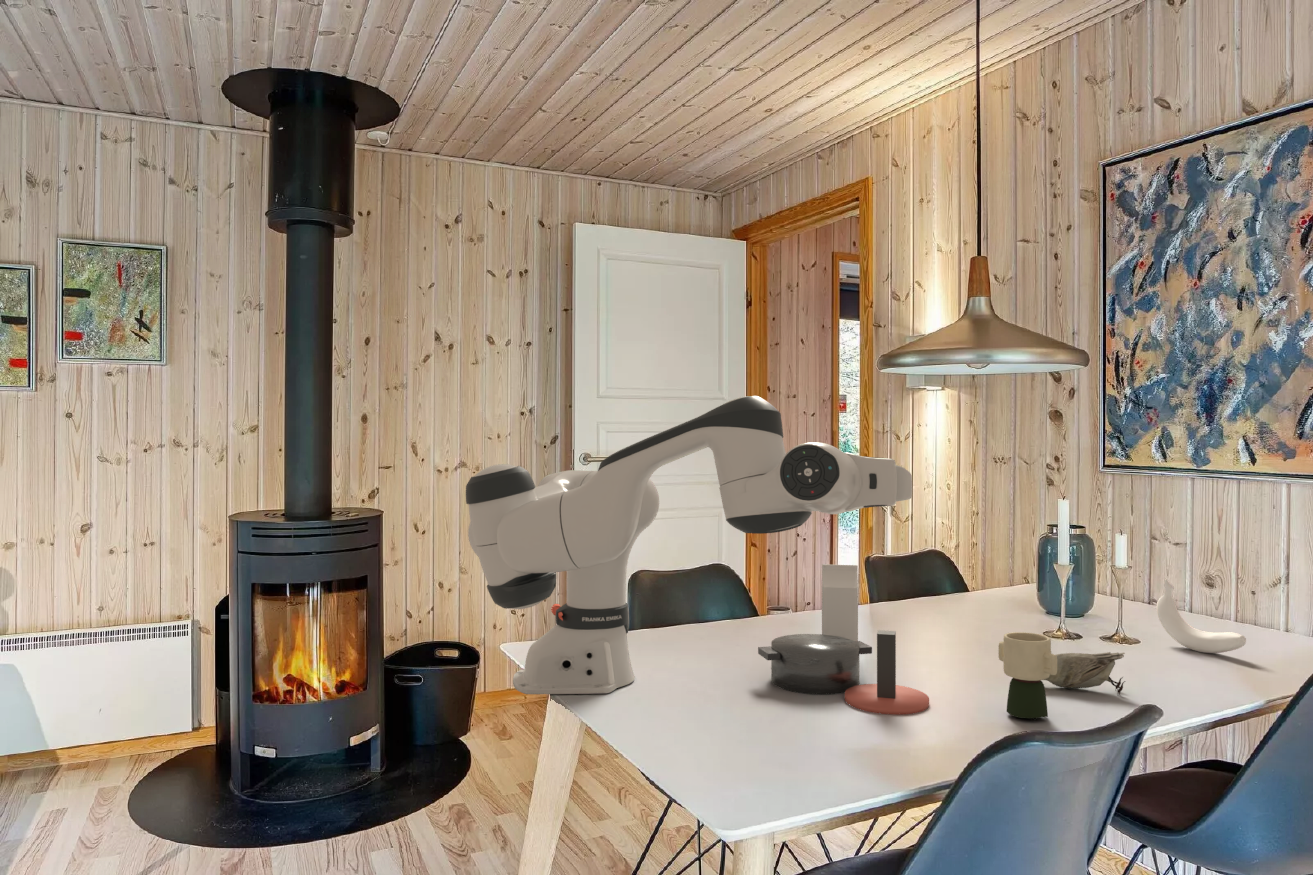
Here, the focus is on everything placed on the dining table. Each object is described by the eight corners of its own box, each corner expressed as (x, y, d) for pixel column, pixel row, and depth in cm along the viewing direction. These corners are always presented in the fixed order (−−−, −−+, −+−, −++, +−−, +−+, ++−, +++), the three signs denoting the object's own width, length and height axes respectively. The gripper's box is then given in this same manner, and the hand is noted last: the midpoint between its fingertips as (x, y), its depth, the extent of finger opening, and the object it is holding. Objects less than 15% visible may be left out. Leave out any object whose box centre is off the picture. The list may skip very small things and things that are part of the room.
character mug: (1071, 723, 140) (1071, 641, 140) (1041, 730, 136) (1041, 646, 136) (1013, 704, 149) (1013, 627, 149) (984, 711, 146) (984, 632, 146)
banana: (1242, 664, 175) (1242, 590, 175) (1150, 643, 192) (1150, 576, 192) (1256, 661, 177) (1256, 588, 177) (1163, 641, 194) (1163, 574, 194)
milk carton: (858, 663, 177) (858, 568, 176) (821, 661, 178) (821, 567, 178) (857, 654, 184) (857, 562, 183) (822, 652, 185) (822, 561, 185)
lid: (929, 718, 143) (929, 644, 143) (841, 711, 147) (841, 639, 147) (928, 694, 156) (928, 626, 156) (847, 687, 160) (847, 621, 160)
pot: (779, 698, 153) (779, 658, 153) (748, 673, 169) (748, 637, 169) (886, 690, 158) (886, 650, 158) (846, 667, 174) (846, 631, 173)
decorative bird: (1025, 681, 164) (1025, 641, 164) (1122, 691, 158) (1122, 649, 158) (1026, 689, 159) (1026, 648, 159) (1126, 699, 153) (1127, 656, 153)
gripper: (759, 504, 127) (781, 509, 140) (906, 504, 119) (916, 509, 132) (759, 460, 128) (781, 469, 140) (905, 458, 120) (915, 467, 133)
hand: (848, 489), depth 136 cm, fingers open, 8 cm apart
